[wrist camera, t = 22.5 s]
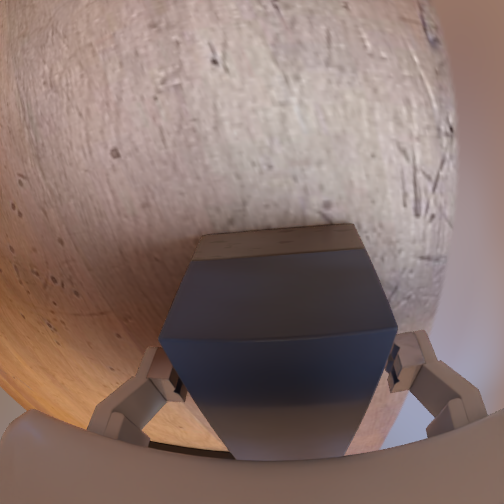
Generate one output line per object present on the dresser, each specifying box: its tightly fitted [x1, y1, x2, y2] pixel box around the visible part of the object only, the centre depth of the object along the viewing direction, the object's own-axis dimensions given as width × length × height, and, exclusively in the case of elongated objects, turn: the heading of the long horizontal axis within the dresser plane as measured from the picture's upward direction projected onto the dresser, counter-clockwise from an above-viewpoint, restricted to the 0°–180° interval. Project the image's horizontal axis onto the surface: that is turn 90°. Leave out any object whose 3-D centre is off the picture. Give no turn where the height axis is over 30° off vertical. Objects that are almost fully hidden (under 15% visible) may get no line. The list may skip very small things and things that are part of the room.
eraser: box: [158, 224, 398, 461], centre depth 10 cm, size 5×10×4 cm, turn 8°
